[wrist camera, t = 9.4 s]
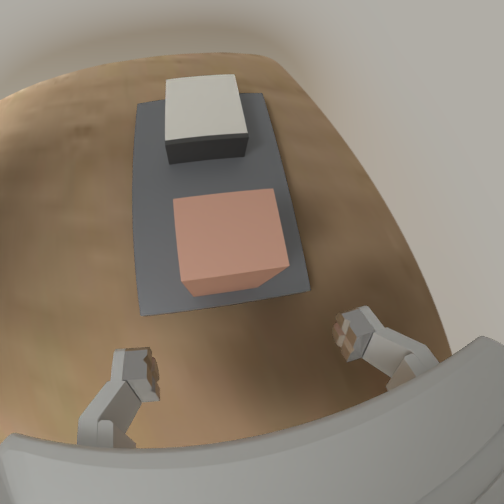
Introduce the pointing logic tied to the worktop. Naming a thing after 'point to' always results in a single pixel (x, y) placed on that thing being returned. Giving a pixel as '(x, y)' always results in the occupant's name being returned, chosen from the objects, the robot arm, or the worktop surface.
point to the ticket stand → (203, 184)
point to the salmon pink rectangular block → (229, 241)
